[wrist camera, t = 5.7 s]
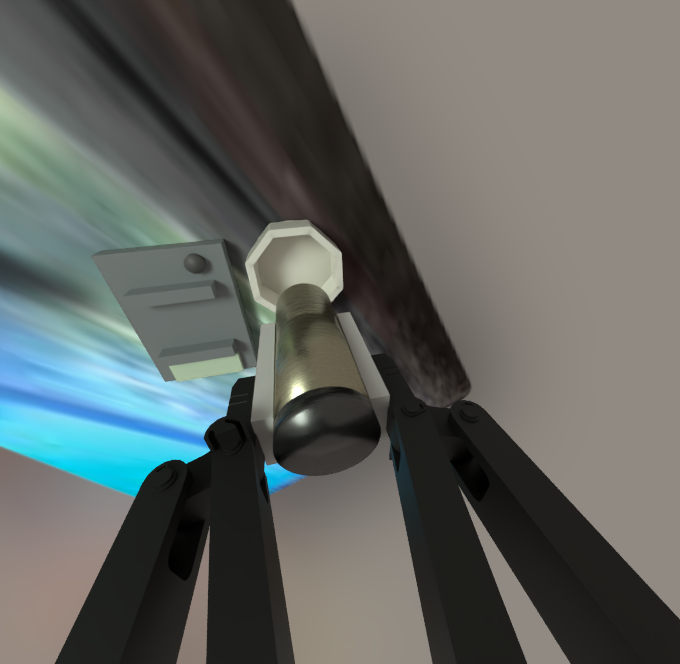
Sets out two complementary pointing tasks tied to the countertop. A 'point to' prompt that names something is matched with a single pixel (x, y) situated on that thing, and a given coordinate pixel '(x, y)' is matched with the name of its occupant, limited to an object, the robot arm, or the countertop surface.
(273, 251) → the white octagonal bowl
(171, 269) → the cradle
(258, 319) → the countertop surface
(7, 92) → the countertop surface
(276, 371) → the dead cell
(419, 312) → the countertop surface
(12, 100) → the countertop surface
